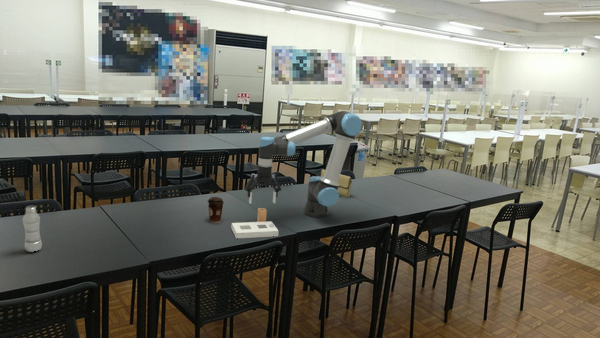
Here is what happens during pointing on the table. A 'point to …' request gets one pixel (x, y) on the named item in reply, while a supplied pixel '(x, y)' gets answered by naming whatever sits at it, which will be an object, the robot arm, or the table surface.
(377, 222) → the table surface
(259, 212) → the tan rectangular block
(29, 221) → the plastic bottle
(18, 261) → the table surface
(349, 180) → the clutch purse
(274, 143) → the robot arm
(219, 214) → the coffee cup
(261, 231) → the socket box
